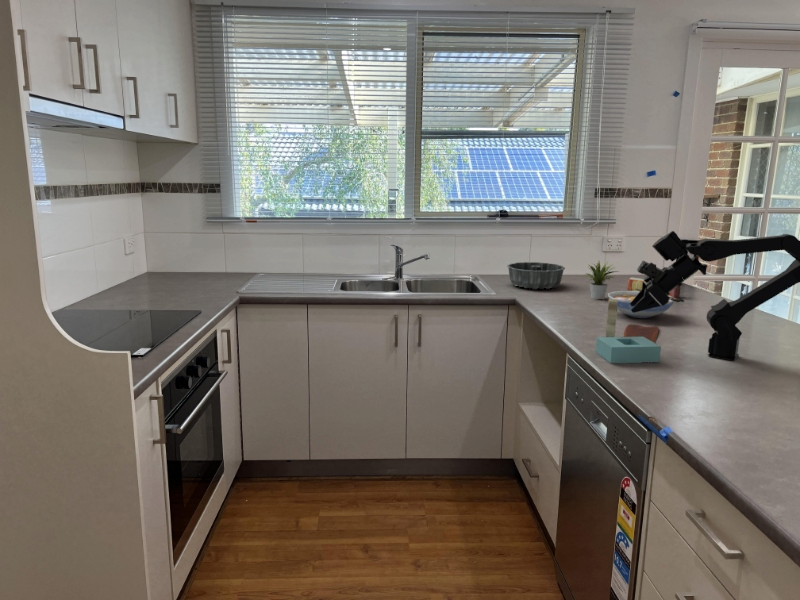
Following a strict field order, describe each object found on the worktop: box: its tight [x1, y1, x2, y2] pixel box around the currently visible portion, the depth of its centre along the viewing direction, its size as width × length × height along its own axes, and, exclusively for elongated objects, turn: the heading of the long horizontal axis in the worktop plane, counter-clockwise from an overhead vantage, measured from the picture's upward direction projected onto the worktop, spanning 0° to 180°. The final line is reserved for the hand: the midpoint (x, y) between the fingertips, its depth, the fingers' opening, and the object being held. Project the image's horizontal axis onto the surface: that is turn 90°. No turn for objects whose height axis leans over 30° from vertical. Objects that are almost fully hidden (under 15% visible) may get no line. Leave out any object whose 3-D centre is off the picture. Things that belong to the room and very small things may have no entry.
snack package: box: [626, 277, 681, 299], centre depth 245 cm, size 21×7×7 cm, turn 43°
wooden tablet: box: [622, 323, 660, 344], centre depth 179 cm, size 27×10×2 cm, turn 153°
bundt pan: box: [507, 261, 566, 290], centre depth 264 cm, size 26×26×10 cm
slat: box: [605, 298, 618, 337], centre depth 166 cm, size 4×2×14 cm, turn 160°
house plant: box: [585, 260, 620, 300], centre depth 234 cm, size 14×14×16 cm
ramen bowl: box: [607, 289, 685, 319], centre depth 205 cm, size 25×23×8 cm
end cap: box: [595, 336, 662, 364], centre depth 156 cm, size 10×14×4 cm
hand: (631, 308), depth 163 cm, fingers open, 9 cm apart
